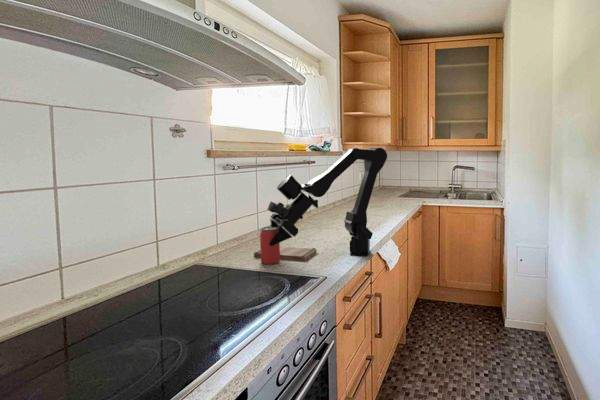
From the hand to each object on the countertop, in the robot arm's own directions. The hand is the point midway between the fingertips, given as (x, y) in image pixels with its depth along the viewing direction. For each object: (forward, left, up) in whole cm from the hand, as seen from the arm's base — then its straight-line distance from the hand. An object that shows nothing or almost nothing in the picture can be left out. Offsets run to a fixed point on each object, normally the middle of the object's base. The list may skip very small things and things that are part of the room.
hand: (267, 242), depth 144 cm
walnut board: (-2, -12, -7) cm, 14 cm away
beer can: (-1, -1, -7) cm, 7 cm away
